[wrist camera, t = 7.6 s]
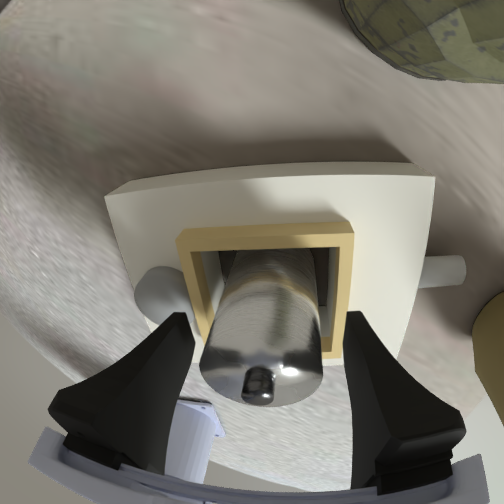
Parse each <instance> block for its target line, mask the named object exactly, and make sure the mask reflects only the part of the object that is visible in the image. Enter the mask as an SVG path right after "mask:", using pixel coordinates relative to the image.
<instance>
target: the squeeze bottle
mask: <svg viewBox="0 0 504 504" xmlns="http://www.w3.org/2000/svg"><path fill="white" fill-rule="evenodd" d="M472 341H473V350H474V361H475V372H476V374H477V375H478V377H479V379H480V381H481V383H482V384H483V386H484V388H485V390H486V392H487V394H488V396H489V397H490V399H491V401H492V403H493V405H494V407H495V409H496V411H497V413H498V415H499V417H500V419H501V422H502V424H503V426H504V292H502V293H500V294H499V295H497V296H495V297H494V298H493V299H492V300H491V301H490V302H489V303H488V304H486V306H485V307H484V308H483V310H482V311H481V312H480V313H479V315H478V316H477V318H476V321H475V323H474V325H473V329H472Z"/></svg>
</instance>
